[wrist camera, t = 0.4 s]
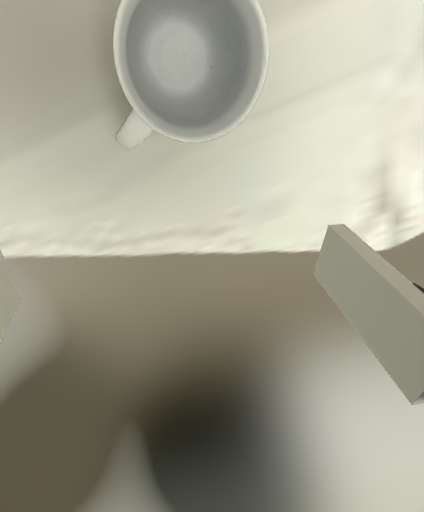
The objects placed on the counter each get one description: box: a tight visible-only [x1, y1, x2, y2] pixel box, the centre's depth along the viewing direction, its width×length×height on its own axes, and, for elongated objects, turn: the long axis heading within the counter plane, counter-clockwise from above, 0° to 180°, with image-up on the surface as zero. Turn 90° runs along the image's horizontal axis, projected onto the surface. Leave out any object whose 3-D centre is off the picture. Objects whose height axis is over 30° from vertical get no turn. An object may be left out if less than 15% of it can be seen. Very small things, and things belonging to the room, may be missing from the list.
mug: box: [113, 0, 269, 149], centre depth 26 cm, size 15×11×13 cm
